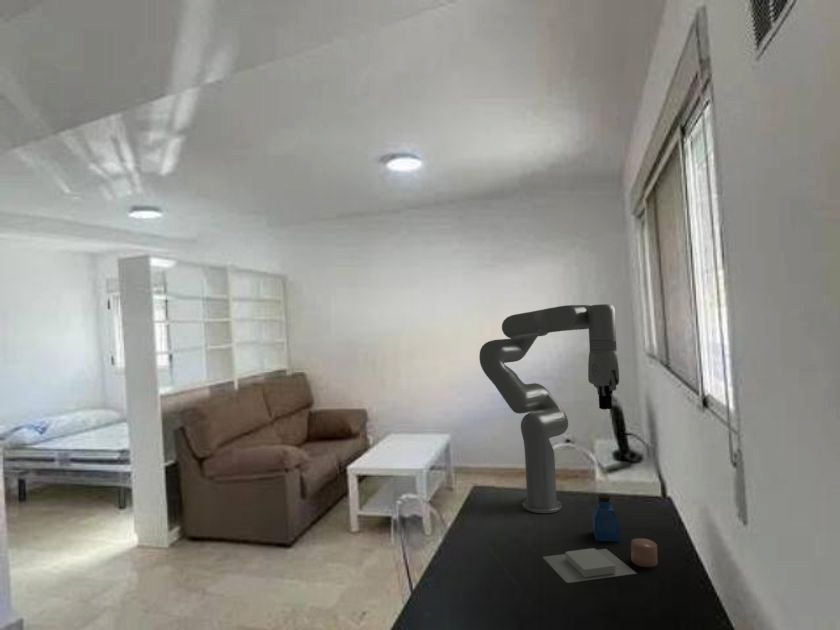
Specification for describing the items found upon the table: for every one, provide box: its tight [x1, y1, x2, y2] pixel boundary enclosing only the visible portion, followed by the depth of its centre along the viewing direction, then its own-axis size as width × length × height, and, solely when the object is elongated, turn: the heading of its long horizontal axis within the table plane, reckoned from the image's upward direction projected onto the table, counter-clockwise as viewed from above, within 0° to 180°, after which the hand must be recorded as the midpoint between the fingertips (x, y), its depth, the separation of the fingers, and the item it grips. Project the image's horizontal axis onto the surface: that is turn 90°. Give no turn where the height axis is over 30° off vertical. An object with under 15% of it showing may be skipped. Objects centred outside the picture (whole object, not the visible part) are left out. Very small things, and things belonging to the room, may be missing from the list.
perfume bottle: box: [591, 493, 620, 543], centre depth 147 cm, size 6×6×12 cm
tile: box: [564, 547, 616, 577], centre depth 130 cm, size 2×8×10 cm
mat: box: [542, 548, 638, 584], centre depth 130 cm, size 14×18×1 cm
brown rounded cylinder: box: [630, 537, 658, 568], centre depth 131 cm, size 6×6×5 cm
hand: (605, 408), depth 154 cm, fingers closed
